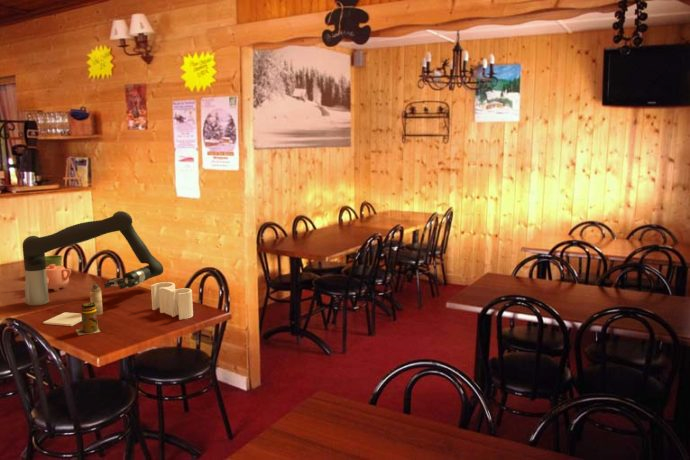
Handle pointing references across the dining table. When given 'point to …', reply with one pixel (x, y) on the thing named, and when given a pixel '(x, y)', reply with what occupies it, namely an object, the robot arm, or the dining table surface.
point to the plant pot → (53, 260)
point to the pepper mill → (96, 298)
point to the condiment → (88, 319)
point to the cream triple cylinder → (172, 300)
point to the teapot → (57, 277)
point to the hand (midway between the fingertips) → (112, 286)
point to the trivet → (65, 319)
